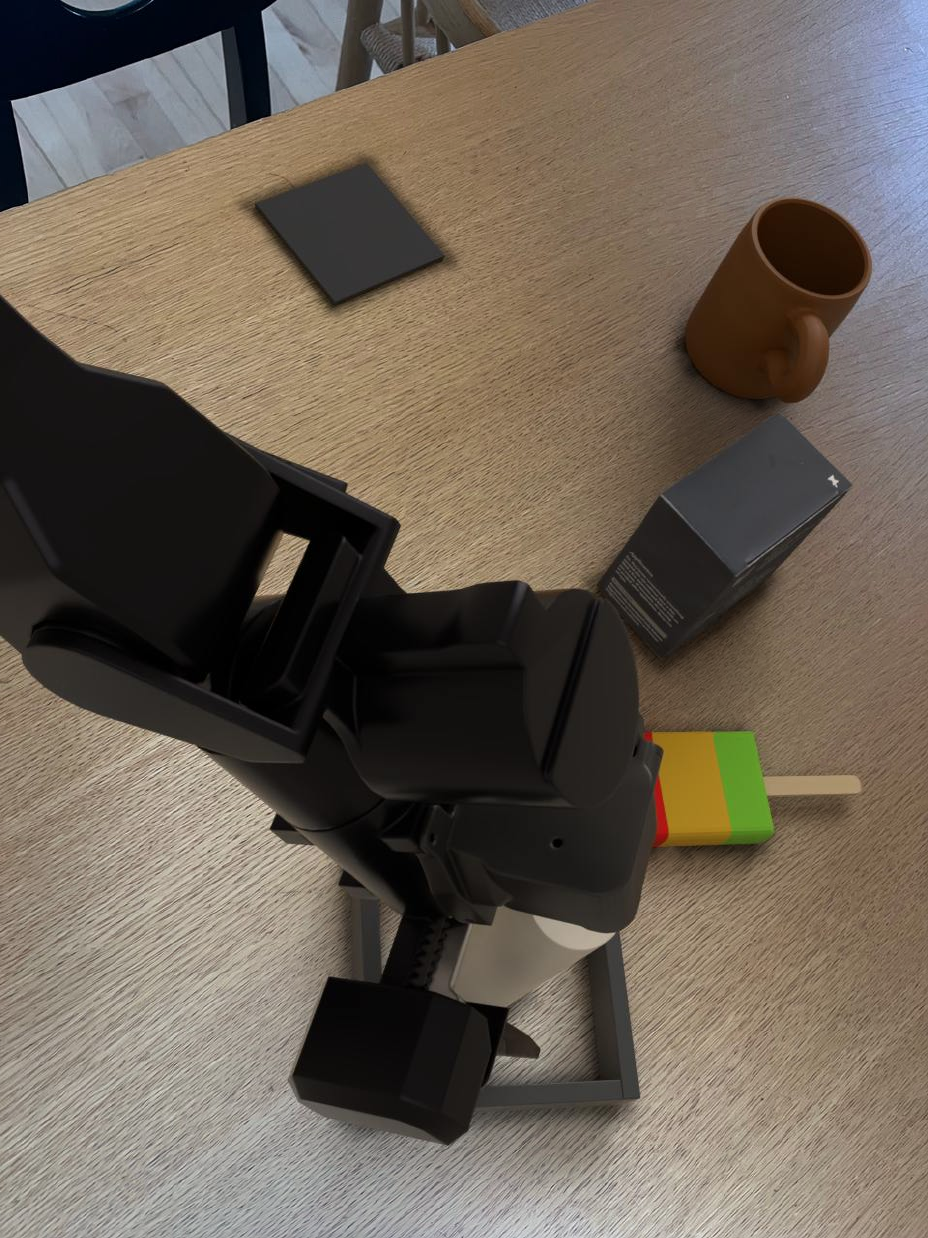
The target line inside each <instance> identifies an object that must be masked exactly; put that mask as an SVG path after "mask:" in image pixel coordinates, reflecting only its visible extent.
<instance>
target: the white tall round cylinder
mask: <svg viewBox="0 0 928 1238" xmlns="http://www.w3.org/2000/svg"><path fill="white" fill-rule="evenodd" d="M615 933H616V932H615ZM615 933H599V932H594V931H590V930H587V929H585V928H583V927H581V926H578V925H574V924H570V923H565V922H561V921H557V920H553V919H549V918H544V917H540V916H536V915H532V914H527V913H523V912H519V911H515V910H512V909H509V908H507V907H505V906H501V907H497V910H496V913H495V917H494V920H493V923H492V926H487V925H478V924H474V926H473V930H472V933H471V936H470V939H469V942H468V946H467V949H466V952H465V955H464V958H463V962H462V965H461V968H460V971H459V974H458V977H457V981H456V984H455V992H456V993H457V994H458V995H459V996H460V997H461V998H462V1000H463V1001H467V1002H474V1003H480V1004H487V1005H494V1006H500V1007H507V1008H508V1007H509V1006H510V1005H511V1004H514V1003H515V1002H517V1001H519V1000H520V999H521V998H522V997H524V996H526V995H528V994H529V993H530V992H532V991H534V990H535V989H537V988H539V987H540V986H541V985H543V984H544V983H546V982H547V981H549V980H551V979H552V978H554V977H556V976H557V975H558V974H560V973H561V972H563V971H565V970H566V969H568V968H569V967H571V966H573V965H574V964H575V963H577V962H579V961H581V960H582V959H584V958H585V957H587V955H588V954H589V953H591V952H593V951H594V950H596V949H597V948H599V947H600V946H602V945H603V944H605V943H606V942H607V941H609V940H610V939H611V938H612V937H613V936H614V934H615Z"/></svg>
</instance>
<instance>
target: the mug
mask: <svg viewBox="0 0 928 1238" xmlns="http://www.w3.org/2000/svg"><path fill="white" fill-rule="evenodd" d="M872 273H873V260H872V255H871V251H870V249H869V246H868V244H867V242H866V240H865V239H864V238H863V236H862V235H861V233H860V232H859V231H858V230H857V228H856V227H855V226H854V225H853V224H852V223H851V222H850V221H849V220H848V219H846V217H844V216H843V215H842V214H840V213H839V212H837V211H836V210H834V209H832V208H831V207H829V206H827V205H825V204H823V203H821V202H817V201H815V200H812V199H808V198H804V197H795V196H784V197H777V198H775V199H772V200H770V201H768V202H766V203H764V204H763V205H760V207H758V209H757V210H756V211H755V212H754V213H753V215H752V216H751V217H750V219H749V220H748V221H747V223H746V224H745V225H744V226H743V228H742V229H741V230H740V232H739V233H738V235H737V236H736V238H735V240H734V241H733V243H732V244H731V246H730V248H729V249H728V251H727V253H726V254H725V256H724V258H723V259H722V261H721V262H720V264H719V266H718V267H717V269H716V270H715V272H714V274H713V275H712V277H711V279H710V281H709V282H708V284H707V286H706V287H705V289H704V291H702V294H701V296H700V297H699V299H698V300H697V302H696V304H695V306H694V307H693V308H692V310H691V313H690V315H689V316H688V319H687V321H686V322H687V323H686V326H685V330H684V339H685V345H686V350H687V353H688V356H689V358H690V360H691V362H692V364H693V366H694V367H695V368H696V369H697V371H698V372H699V373H700V375H701V376H703V378H704V379H705V380H707V381H708V382H709V383H710V384H711V385H713V386H714V387H715V388H717V389H719V390H721V391H722V392H724V393H727V394H728V395H731V396H734V397H738V398H741V399H746V400H763V399H764V400H765V399H768V398H773V397H775V399H777V400H778V401H780V402H782V403H784V404H798V403H800V402H802V401H804V400H805V399H807V398H809V397H810V396H811V395H812V394H813V393H814V391H815V390H816V389H817V387H819V385H820V383H821V382H822V380H823V378H824V375H825V374H826V371H827V367H828V363H829V358H830V338H831V337H832V336H833V335H834V333H835V332H836V331H837V329H838V328H839V327H840V325H842V323H843V322H844V320H845V319H846V318H847V317H848V315H849V314H850V313H851V312H852V310H853V309H854V307H855V306H856V304H857V303H858V301H859V299H860V297H861V296H862V294H863V293H864V291H865V290H866V288H867V287H868V286H869V283H870V281H871V277H872Z"/></svg>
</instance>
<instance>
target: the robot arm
mask: <svg viewBox="0 0 928 1238" xmlns="http://www.w3.org/2000/svg"><path fill="white" fill-rule="evenodd" d="M348 486H349V483H348V482H346V481H344V480H341V479H339V478H336V477H333V476H330V475H328V474H325V473H323V472H321V471H318V470H315V469H312V468H309V467H307V466H305V465H302V464H299V463H296V462H294V461H291V460H289V459H286V458H283V457H281V456H279V455H276V454H273V453H270V452H268V451H265V450H262V449H260V448H258V447H256V446H254V445H253V444H250V443H248V442H246V441H244V440H242V439H241V438H238V437H236V436H235V435H232V434H231V433H228V432H226V431H225V430H222V428H220V427H219V426H217V425H216V423H214V422H213V421H212V420H210V419H209V418H208V417H207V416H205V415H204V414H203V413H202V412H201V411H199V410H198V409H197V408H196V407H194V406H193V405H192V404H191V403H190V402H189V401H187V400H186V399H185V398H184V397H182V396H181V395H180V394H179V393H178V392H176V391H175V390H174V389H173V388H172V387H170V386H169V385H167V384H166V383H164V382H162V381H159V380H157V379H152V378H148V377H144V376H141V375H136V374H131V373H127V372H124V371H123V372H122V371H118V370H114V369H109V368H106V367H102V366H97V365H92V364H89V363H84V362H80V361H78V360H76V359H75V358H74V357H73V356H71V355H70V354H69V353H68V352H66V351H65V350H64V349H63V348H61V347H60V346H59V345H58V344H56V343H55V342H54V341H52V340H51V339H50V338H49V337H47V336H46V335H45V334H44V333H43V332H42V331H40V330H39V329H38V328H37V327H35V326H34V325H33V324H32V323H31V322H30V321H29V320H28V319H27V318H26V317H25V316H23V314H22V313H21V312H19V310H17V308H15V307H14V306H13V305H12V303H10V302H9V301H8V300H7V299H6V298H5V297H4V296H3V295H2V294H1V293H0V637H1V638H2V639H3V640H4V641H5V642H7V643H8V644H9V645H10V646H11V647H12V648H13V649H15V650H16V652H18V653H19V654H20V656H21V662H22V665H23V666H24V668H25V669H26V671H27V672H28V673H29V675H30V676H31V677H32V678H33V679H35V680H36V681H37V682H38V683H39V684H40V685H41V686H42V687H44V688H45V689H46V690H48V691H50V692H51V693H52V694H54V695H55V696H57V697H59V698H60V699H62V700H64V701H66V702H68V703H70V704H72V705H73V706H75V707H77V708H80V709H83V710H84V711H87V712H90V713H93V714H96V715H98V716H101V717H104V718H108V719H110V720H114V721H117V722H120V723H123V724H126V725H130V726H132V727H136V728H139V729H143V730H146V731H149V732H152V733H155V734H158V735H161V736H165V737H168V738H171V739H175V740H177V741H181V742H184V743H187V744H189V745H193V746H196V747H197V748H198V749H199V750H200V751H202V752H203V753H204V754H205V755H206V756H207V757H209V758H210V759H211V760H212V761H213V762H214V763H216V764H217V765H218V766H219V767H221V768H222V769H223V770H224V771H225V772H226V773H228V774H229V775H230V776H231V777H233V778H234V779H235V780H236V781H238V783H240V784H241V785H242V786H243V787H245V788H246V789H247V790H248V791H249V792H251V793H252V794H253V795H254V796H255V797H256V798H258V799H259V800H260V801H261V802H263V803H264V805H266V806H268V808H269V809H271V810H272V811H273V812H275V815H274V818H273V820H272V821H271V824H270V827H269V831H270V832H272V833H273V834H274V835H275V836H277V838H279V839H280V840H281V841H283V842H284V843H285V844H287V845H297V846H299V845H300V846H309V847H310V846H312V847H316V848H318V849H319V850H321V852H323V854H325V855H326V856H327V857H328V858H330V859H331V860H332V861H333V862H335V863H336V864H337V865H338V866H339V867H340V868H342V869H343V870H342V873H341V876H340V878H339V881H338V883H337V886H338V887H339V888H340V889H342V890H343V891H345V893H346V894H348V895H349V897H350V896H352V897H353V898H360V899H370V900H379V902H380V901H381V902H382V903H384V905H386V906H387V907H388V908H389V909H391V910H392V911H394V912H395V913H396V914H398V915H400V916H401V919H400V921H399V924H398V927H397V930H396V932H395V935H394V938H393V941H392V944H391V947H390V950H389V953H388V955H387V958H386V961H385V965H384V967H383V969H382V976H381V979H380V982H379V983H373V982H366V981H359V980H353V978H345V977H337V976H332V975H328V976H327V977H326V979H325V980H324V981H323V983H322V985H321V987H320V991H319V992H318V996H317V998H316V1000H315V1004H314V1007H313V1009H312V1012H311V1015H310V1017H309V1020H308V1023H307V1026H306V1028H305V1031H304V1034H303V1037H302V1039H301V1042H300V1044H299V1046H298V1047H299V1048H298V1050H297V1053H296V1055H295V1059H294V1061H293V1064H292V1066H291V1069H290V1071H289V1075H288V1077H287V1083H288V1085H289V1086H290V1089H291V1090H292V1093H293V1095H294V1098H295V1099H296V1101H297V1103H299V1104H301V1105H302V1106H304V1107H305V1108H307V1109H309V1110H311V1111H313V1112H314V1113H316V1114H318V1115H319V1116H321V1117H323V1118H325V1119H329V1120H333V1121H338V1122H342V1123H346V1124H351V1125H354V1126H358V1127H359V1126H360V1127H362V1128H363V1127H364V1128H368V1129H372V1130H377V1131H381V1132H386V1133H389V1134H394V1135H398V1136H403V1137H407V1138H410V1139H411V1138H412V1139H416V1140H421V1141H425V1142H429V1143H433V1144H437V1145H442V1146H446V1147H449V1146H451V1145H452V1144H454V1143H455V1142H456V1141H458V1140H459V1139H460V1138H461V1137H463V1136H464V1135H465V1134H467V1133H468V1132H469V1130H470V1127H471V1124H472V1120H473V1116H474V1114H475V1113H474V1110H475V1107H476V1103H477V1100H478V1096H479V1093H480V1090H482V1089H483V1088H484V1087H485V1086H488V1083H489V1081H490V1079H491V1076H492V1072H493V1069H494V1066H495V1062H496V1059H497V1057H510V1058H518V1059H519V1058H520V1059H521V1058H522V1059H530V1060H531V1059H533V1060H539V1057H540V1054H541V1050H542V1049H541V1047H540V1046H539V1045H538V1044H537V1042H536V1041H535V1040H534V1039H533V1038H532V1037H531V1036H530V1035H529V1034H527V1033H525V1032H524V1031H523V1030H521V1029H520V1028H518V1027H516V1026H514V1025H513V1024H511V1023H510V1022H508V1017H509V1013H510V1008H509V1007H508V1006H507V1007H500V1006H494V1005H487V1004H480V1003H474V1002H467V1001H463V1000H462V998H461V997H460V996H459V995H458V994H457V993H456V992H455V984H456V981H457V977H458V974H459V971H460V968H461V965H462V962H463V958H464V955H465V952H466V949H467V946H468V942H469V939H470V936H471V933H472V930H473V926H474V924H478V925H487V926H492V923H493V920H494V917H495V913H496V910H497V907H501V906H505V907H507V908H509V909H512V910H515V911H519V912H523V913H527V914H532V915H536V916H540V917H544V918H549V919H553V920H557V921H561V922H565V923H570V924H574V925H578V926H581V927H583V928H585V929H587V930H590V931H594V932H599V933H615V932H618V931H620V932H622V931H623V930H625V929H626V928H627V927H628V926H630V925H631V923H632V922H633V921H634V920H635V918H636V916H637V914H638V910H639V907H640V902H641V897H642V891H643V886H644V883H645V879H646V873H647V870H648V866H649V861H650V858H651V855H652V849H653V847H652V846H653V843H654V841H655V837H656V833H657V827H658V824H657V814H656V803H655V793H654V790H655V786H656V782H657V778H658V774H659V770H660V766H661V762H662V758H663V754H664V750H663V749H662V748H661V747H660V746H659V745H657V744H655V743H652V742H651V741H650V740H645V739H643V738H644V734H645V732H646V730H645V721H644V717H643V715H642V713H641V712H640V688H639V675H638V668H637V663H636V659H635V653H634V649H633V646H632V645H633V644H632V642H631V639H630V636H629V633H628V630H627V627H626V625H625V623H624V621H623V619H622V616H621V615H620V613H619V612H618V611H617V610H616V609H615V607H614V606H613V605H612V604H611V602H610V601H609V600H608V599H606V597H604V598H601V597H599V596H597V595H596V594H595V593H593V592H591V591H590V590H588V589H583V588H577V587H569V588H557V589H543V590H542V589H540V590H533V588H532V587H531V586H530V584H529V583H527V582H524V581H522V580H518V579H513V580H499V581H487V582H480V583H476V584H475V583H474V584H472V585H468V586H465V587H462V588H456V589H447V590H434V591H433V590H432V591H421V592H407V591H405V590H404V589H403V588H402V587H401V585H399V583H398V582H397V581H396V580H395V579H394V578H393V576H392V575H391V574H390V573H389V572H388V571H387V569H386V568H385V566H386V563H387V561H388V559H389V557H390V554H391V552H392V549H393V546H394V544H395V542H396V540H397V537H398V536H399V532H400V530H401V528H402V525H401V522H400V521H399V520H398V519H397V518H396V517H395V516H393V515H391V514H389V513H386V512H384V511H383V510H381V509H379V508H377V507H374V506H373V505H371V504H369V503H367V502H365V501H363V500H361V499H359V498H357V497H356V496H353V495H352V494H349V493H347V491H348ZM284 534H285V535H289V536H292V537H295V538H298V539H301V540H302V539H303V540H305V541H308V543H307V545H306V548H305V550H304V552H303V554H302V556H301V559H300V562H299V564H298V565H297V568H296V570H295V571H294V574H293V577H292V578H291V581H290V583H289V585H288V588H287V590H286V592H285V593H277V594H276V593H273V594H264V595H261V594H260V595H257V593H258V591H259V588H260V586H261V584H262V581H263V580H264V577H265V576H266V573H267V571H268V569H269V567H270V566H271V565H270V564H271V562H272V560H273V558H274V556H275V555H276V552H277V550H278V548H279V545H280V543H281V541H282V539H283V537H284Z"/></svg>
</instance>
